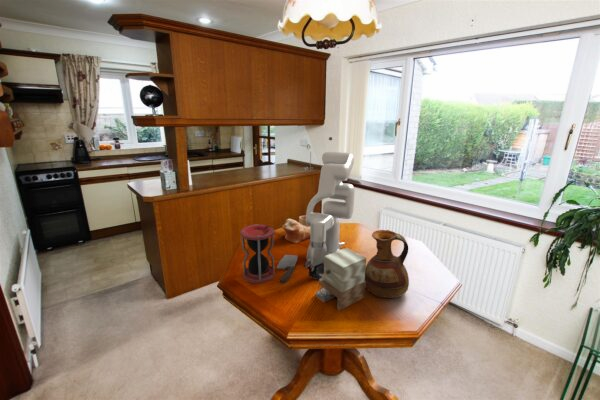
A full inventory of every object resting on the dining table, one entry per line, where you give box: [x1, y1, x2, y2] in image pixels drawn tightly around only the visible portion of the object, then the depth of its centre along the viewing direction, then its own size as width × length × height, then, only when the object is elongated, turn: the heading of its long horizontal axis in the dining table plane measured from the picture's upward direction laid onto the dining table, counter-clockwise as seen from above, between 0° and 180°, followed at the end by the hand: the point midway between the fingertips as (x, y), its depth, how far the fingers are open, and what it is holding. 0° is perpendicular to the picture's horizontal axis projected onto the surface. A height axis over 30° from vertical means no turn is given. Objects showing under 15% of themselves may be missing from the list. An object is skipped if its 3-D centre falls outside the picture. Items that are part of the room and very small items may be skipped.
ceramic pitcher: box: [365, 229, 410, 299], centre depth 133 cm, size 20×20×30 cm
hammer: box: [313, 264, 324, 281], centre depth 140 cm, size 4×22×7 cm, turn 36°
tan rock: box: [282, 215, 310, 244], centre depth 192 cm, size 14×26×15 cm, turn 133°
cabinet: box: [318, 247, 367, 311], centre depth 130 cm, size 16×14×20 cm
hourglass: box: [240, 223, 276, 284], centre depth 146 cm, size 16×16×25 cm
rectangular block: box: [315, 287, 335, 303], centre depth 132 cm, size 6×6×2 cm
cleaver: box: [276, 254, 298, 284], centre depth 156 cm, size 29×10×2 cm, turn 172°
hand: (316, 274), depth 148 cm, fingers open, 6 cm apart
